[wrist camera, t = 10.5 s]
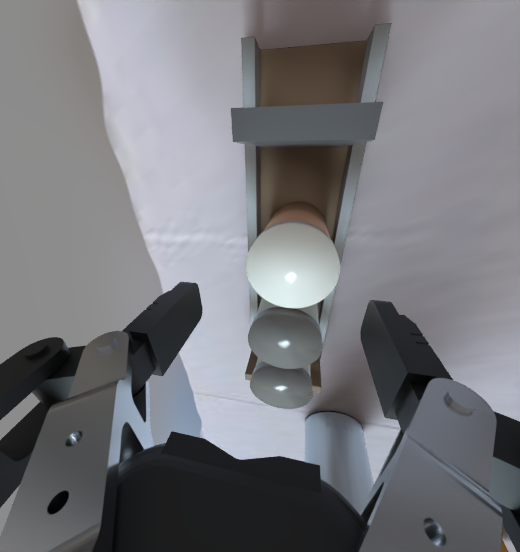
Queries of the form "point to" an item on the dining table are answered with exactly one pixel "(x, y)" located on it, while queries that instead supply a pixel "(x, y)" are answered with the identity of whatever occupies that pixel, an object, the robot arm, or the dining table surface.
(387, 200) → the dining table surface
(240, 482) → the robot arm
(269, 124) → the pusher paddle
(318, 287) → the terracotta jar
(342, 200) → the jar lane
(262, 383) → the grey jar
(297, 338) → the grey jar
